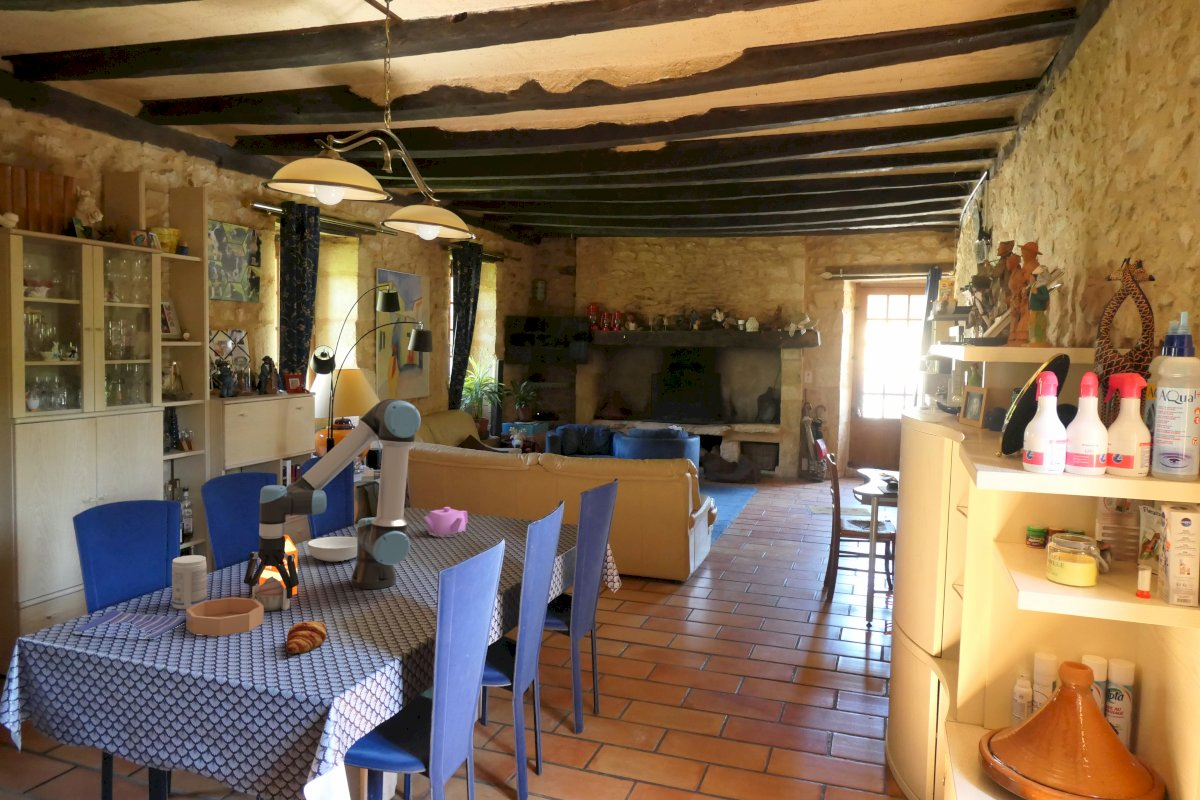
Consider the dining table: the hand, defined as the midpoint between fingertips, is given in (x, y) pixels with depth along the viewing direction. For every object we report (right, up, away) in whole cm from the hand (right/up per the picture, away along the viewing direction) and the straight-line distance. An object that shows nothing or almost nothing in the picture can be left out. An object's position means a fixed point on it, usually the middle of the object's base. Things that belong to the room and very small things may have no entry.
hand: (270, 607), depth 252 cm
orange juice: (-4, 0, +14) cm, 15 cm away
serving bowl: (0, +3, +61) cm, 61 cm away
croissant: (+22, -3, -29) cm, 37 cm away
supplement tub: (-25, +1, 0) cm, 25 cm away
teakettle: (+33, +4, +110) cm, 115 cm away
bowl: (-7, -1, -16) cm, 18 cm away
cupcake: (0, 0, 0) cm, 0 cm away
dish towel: (-30, -1, -22) cm, 37 cm away
